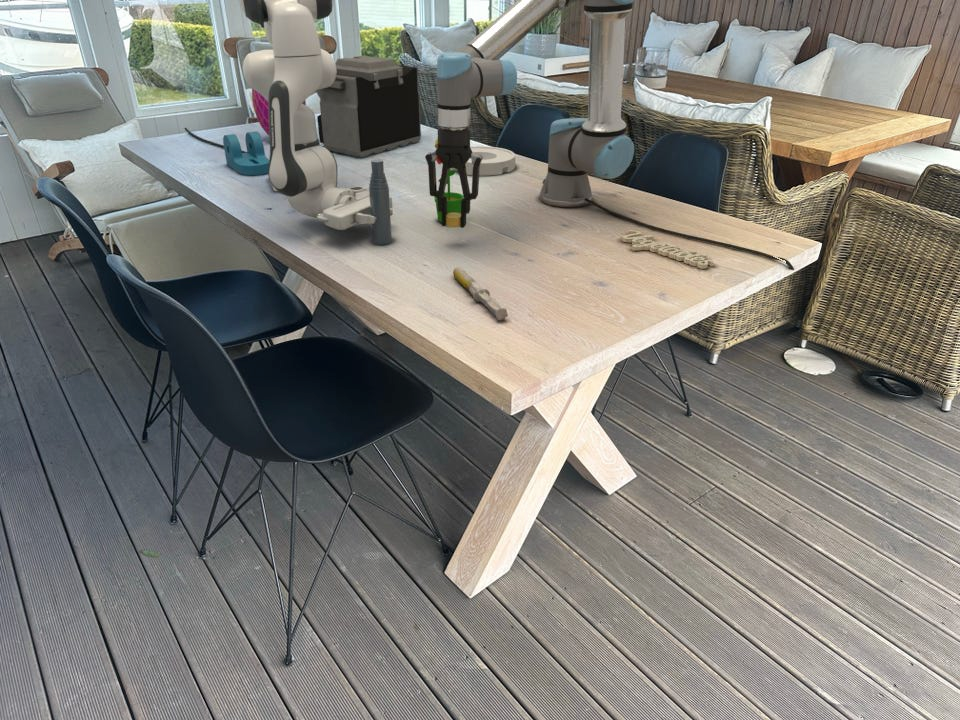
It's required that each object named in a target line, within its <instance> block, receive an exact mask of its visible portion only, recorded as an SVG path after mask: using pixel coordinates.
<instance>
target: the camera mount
mask: <svg viewBox="0 0 960 720" xmlns="http://www.w3.org/2000/svg"><path fill="white" fill-rule="evenodd" d="M222 140H223V141H222V143H223V144H222V145H224V148H223V149H224V150H223V151H224V156H225V161H226V165H227V166H228V167H230V168H231V169H232V170H234V171H236V172H237V173H238V174H239V175H244V176H260V175H265V174H268V166H269V158H268V157H267V156H266V153H265V145H264V141H263V139H262V136H261V134H260V132H258V131H247V132H246V133H245V146H246V152H247V153H242V151H243V149H242V146H241V142H240V140H239V138H238V135H236V134H235V133H231V134H224V135H223V138H222Z"/></svg>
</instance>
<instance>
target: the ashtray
mask: <svg viewBox="0 0 960 720" xmlns="http://www.w3.org/2000/svg"><path fill="white" fill-rule="evenodd" d="M470 148H471V150H472V153H473V154H475V155H477V156H479V155H481V156H482V157H483V159H482V161H481V164H480V170H479V177H482V176H483V177H485V176H498V175H502V174H503V173H510V172H512V171H514V170H515V168H516V154H515V152H514V151H512V150H510V149H506V148H503V147H497V146H486V145H483V146H481V145H478V146H477V145H475V146H474V145H473V146H470ZM465 165H466V173H467V176H472V175H473V164H472V159H471V158H469V160H468V161H467V163H466V164H465ZM451 170H456V172H458V169H455V168H450V171H451Z"/></svg>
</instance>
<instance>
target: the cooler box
mask: <svg viewBox="0 0 960 720" xmlns="http://www.w3.org/2000/svg"><path fill="white" fill-rule="evenodd" d="M335 64H336V69H337V73H336V78H335V81H334V83H333V84H332V85H331V86H330V87H327V88H323V89H319V90H316V91H315V93H316V94H317V96H318V98H319V110H320V111H319V112H320V114H319V115H317V116H316V119H317V128H318V130H317V131H318V139H319V143H320V144H323V147H325V148H327V149H328V150H329V151H330V152H335V153H340V154H344V155H348V156H353V157H357V158H362V159H363V158H366V157H367V158H368V157H369V155H371V154H375V155H377V154H381V153H382V152H383V151H391V150H395V149H396V148H397V147H405V146H407V145H408V144H416V143H418V142H419V141H421V137H422V128H421V97H420V92H419V91H420V89H419V68H418V67H417V66H408V65H400V64H396V62H395V60H394V59H393V58H385V57H377V56H367V55H356V56H353V57H350V58H349V57H343V58H342V57H341V58H337V59H336V60H335Z"/></svg>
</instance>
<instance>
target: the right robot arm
mask: <svg viewBox="0 0 960 720" xmlns="http://www.w3.org/2000/svg"><path fill="white" fill-rule="evenodd" d="M577 1H579V0H516V1H515V2H513V3H512V4H511V5H510V6H509V7H508V8H507V9H506V10H505V11H504V12H502V13H501V14H500V15H499V16H498V17H497V18H495V20H493V21H492V22H491V23H489V24H488V26H486V28H484V29H483V30H481V31H480V33H479V34H477V35H476V36H475V37H474V38H473V39H471V41H469V42H468V43H467V44H466V45H465V46H464V47H463V48H461V49H460V50H459V51H457V52H456V51H449V52H448V51H447V52H442V53H440V54H439V55H438V56H437V59H436V60H437V61H436V74H435V77H436V103H437V105H436V106H437V107H436V111H437V114H436V116H437V119H436V121H437V125H438V126H439V127H438V128H437V139H438V147H437V148H435V151H432V152H431V151H430V152H428V153H427V154H426V155H425V156H424V159H425V161H426V163H427V169H428V185H429V186H428V187H429V188H428V190H429V196H430V197H433V198H434V197H436V198H437V200H438V212H442V223H441V227H446V214H447V197H444V195H445V194H444V193H445V192H446V187H447V184H446V183H447V178H448V173H449V169H450V168H455V169H458V171H457V174H458V175H459V181H460V185H461V191H462V195H463V196H464V198H463V199H462V201H461V226H460V228H461V229H464V228H465V227H466V225H467V215H469V214H470V212H471V201H472V200H476V199H477V197H478V196H479V187H480V186H479V185H480V176H479V170H480V164H481V161H482V159H483V157H482V156H481V155H479V156H477V155H475V154H473V153H472V150H471V148H470V147H471V128H470V126H471V104H472V102H471V101H472V99H475V98H484V97H497V96H498V97H502V96H506V95H510V94H511V93H513V92H514V91H515V89H516V87H517V84H518V71H517V68H516V66H515V64H514V62H513V61H511V60H509V59H501V58H502V57H503V56H505V55H506V54H507V53H508V52H509V51H510V50H512V48H514V46H516V45H517V44H518V43H519V42H520V41H522V40H523V39H524V38H525V37H526V36H527V35H528V34H529V33H530V32H532V31H533V30H534V29H535V28H536V27H537V26H539V24H541V23H542V22H543V21H544V20H545V19H546V18H547V17H548V16H550V15H551V14H552V13H553V12H555V11H562V10H563V9H564V8H565V7H567V5H570V4H572V3H574V2H577ZM635 1H636V0H583V13H584V14H585V15H586V16H587V17H588V19H589V41H588V42H589V43H588V44H589V45H588V47H589V48H588V54H589V55H588V86H587V87H588V89H587V90H588V91H587V96H588V97H587V99H588V100H587V117H573V118H571V117H570V118H562V119H556V120H554V121H553V122H552V123H551V124H550V129H549V130H550V131H549V134H548V137H549V138H548V156H547V158H548V159H547V173H546V176H545V178H544V179H543V181H542V183H541V184H542V187H541V189H540V192H539V200H540V202H542V203H543V204H546V205H549V206H553V207H558V208H559V207H560V208H580V207H584V206H588V205H589V204H591V205H593V206H595V207H597V208H599V209H600V210H602V211H604V212H606V213H607V214H610V215H613V216H615V217H619V218H620V219H623V220H626V221H628V222H631V223H634V224H636V225H640V226H643V227H645V228H648V229H652V230H654V231H655V230H656V231H659V232H662V233H665V234H670V235H674V236H679V237H681V238H682V237H683V238H687V239H692V240H696V241H700V242H704V243H708V244H712V245H713V244H714V245H717V246H721V247H726V248H731V249H735V250H738V251H743V252H747V253H751V254H753V255H754V254H755V255H758V256H761V257H765V258H768V259H770V260H774V261H779V262H782V261H781V260H779V259H777V258H775V257H773V256H774V255H772V254H769V253H766V252H763V251H758V250H754V249H752V248H747V247H743V246H739V245H735V244H731V243H728V242H727V243H726V242H722V241H718V240H713V239H708V238H704V237H700V236H695V235H691V234H686V233H683V232H677V231H674V230H669V229H665V228H662V227H659V226H655V225H652V224H648V223H645V222H642V221H639V220H636V219H634V218H631V217H630V216H629V217H628V216H626V215H622V214H621V213H617V212H615V211H613V210H611V209H608V208H605V207H604V206H602V205H600V204H598V203H597V202H595V201H593V200H592V199H593V193H592V188H591V184H590V179H589V174H590V175H593V176H595V177H597V178H603V179H607V180H608V179H609V180H611V179H616V178H618V177H620V176H621V175H623V174H624V173H625V172H626V170H627V169H628V168H629V167H630V165H631V163H632V160H633V158H634V155H635V144H634V142H633V141H632V138H630V137H629V136H628V135H627V123H626V122H625V120H623V119H622V103H623V83H624V82H623V81H624V61H625V60H624V59H625V39H626V19H627V17H628V15H630V13H631V12H632V11H633V4H634V2H635ZM437 156H438V158H439V159H440V161H441V162H442V163H441V165H442V167H441V175H440V178H441V179H440V178H439V179H440V182H439V183H438V184H439V185H437V165H436V162H437V161H436V157H437ZM469 158H471V159H472V164H473V175H471V177H472V179H471V189H470V185H469V178H468V175H467V173H466V165H465V164H466V163H467V161H468V160H469ZM777 257H778V258H780V259H782V260H785V261H786V263H785V265H787V267H788V268H789V270H790V271H795V268H794V266H793V264H792V263H791V262H790V261H789V260H788V259H787V258H784V257H780V256H777Z"/></svg>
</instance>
